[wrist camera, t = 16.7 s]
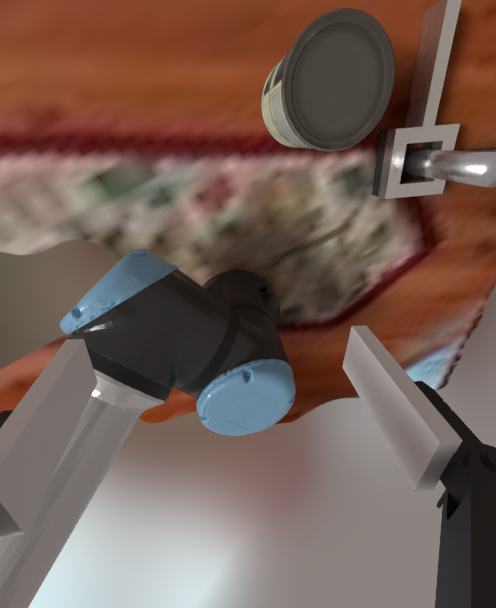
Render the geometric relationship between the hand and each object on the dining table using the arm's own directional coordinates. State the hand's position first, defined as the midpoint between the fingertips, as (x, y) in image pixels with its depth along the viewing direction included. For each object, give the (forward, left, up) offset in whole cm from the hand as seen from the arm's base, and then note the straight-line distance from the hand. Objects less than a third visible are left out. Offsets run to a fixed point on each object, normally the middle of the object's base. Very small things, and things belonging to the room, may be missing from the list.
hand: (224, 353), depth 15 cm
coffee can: (+13, -12, -34) cm, 38 cm away
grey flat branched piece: (+11, -34, -34) cm, 49 cm away
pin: (+5, -28, -34) cm, 44 cm away
